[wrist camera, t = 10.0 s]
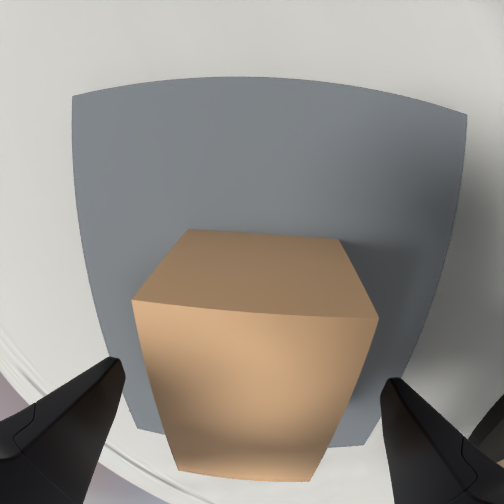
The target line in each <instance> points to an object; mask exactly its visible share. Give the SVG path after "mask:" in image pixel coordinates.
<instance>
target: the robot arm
mask: <svg viewBox="0 0 504 504" xmlns="http://www.w3.org/2000/svg"><path fill="white" fill-rule="evenodd" d="M125 380H126V375H125V371H124V368H123V365H122V362H121V360H120V359H119V358H115V357H107V358H105V359H104V360H102V361H101V362H99V363H98V364H96V365H94V366H93V367H91V368H90V369H88V370H86V371H85V372H83V373H82V374H80V375H78V376H77V377H75V378H74V379H72V380H70V381H69V382H67V383H66V384H64V385H62V386H61V387H59V388H58V389H56V390H54V391H53V392H51V393H50V394H48V395H46V396H45V397H43V398H41V399H40V400H38V401H37V402H36V403H33V404H32V405H30V406H28V407H27V408H25V409H23V410H21V411H20V412H18V413H16V414H14V415H12V416H10V417H9V418H6V419H4V420H2V421H0V504H83V502H84V499H85V496H86V493H87V490H88V487H89V484H90V482H91V479H92V476H93V473H94V470H95V467H96V465H97V462H98V460H99V457H100V454H101V452H102V449H103V446H104V444H105V441H106V439H107V436H108V433H109V431H110V428H111V426H112V423H113V421H114V418H115V416H116V412H117V409H118V405H119V402H120V398H121V394H122V391H123V387H124V384H125ZM380 406H381V416H382V428H383V437H384V443H385V448H386V453H387V459H388V464H389V470H390V476H391V482H392V489H393V495H394V503H395V504H504V468H503V467H502V466H500V465H499V464H498V463H496V462H495V461H494V460H492V459H491V458H489V457H488V456H487V455H486V454H484V453H483V452H482V451H480V450H479V449H478V448H477V447H476V446H475V445H473V444H472V443H471V442H470V441H469V440H468V439H467V438H466V437H465V436H463V435H462V434H461V433H460V432H459V431H458V430H457V429H456V428H455V427H454V426H453V425H451V424H450V423H449V422H448V421H447V420H446V419H445V418H444V417H443V416H442V415H441V414H439V413H438V412H437V411H436V410H435V409H434V408H433V407H432V406H431V405H430V404H429V403H427V402H426V401H425V400H424V399H423V398H422V397H421V396H420V395H419V394H418V393H416V392H415V391H414V390H413V389H412V388H411V387H410V386H409V385H408V384H407V383H406V382H404V381H403V380H402V379H401V378H399V377H393V378H388V379H387V381H386V383H385V385H384V387H383V390H382V392H381V394H380Z"/></svg>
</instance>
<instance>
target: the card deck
mask: <svg viewBox="0 0 504 504" xmlns="http://www.w3.org/2000/svg"><path fill="white" fill-rule="evenodd" d="M131 300H132V306H133V311H134V317H135V322H136V327H137V331H138V336H139V341H140V345H141V350H142V354H143V358H144V362H145V366H146V370H147V374H148V378H149V382H150V385H151V389H152V393H153V396H154V400H155V403H156V407H157V410H158V413H159V416H160V420H161V423H162V426H163V429H164V432H165V435H166V438H167V441H168V444H169V446H170V449H171V452H172V455H173V458H174V460H175V463H176V466H177V468H178V470H179V471H184V472H190V473H195V474H202V475H208V476H215V477H223V478H232V479H242V480H255V481H276V482H309V481H310V480H311V478H312V476H313V474H314V473H315V471H316V469H317V467H318V465H319V463H320V461H321V459H322V458H323V456H324V454H325V452H326V450H327V448H328V446H329V444H330V442H331V440H332V438H333V436H334V433H335V431H336V429H337V427H338V425H339V423H340V421H341V418H342V416H343V414H344V412H345V409H346V407H347V405H348V402H349V400H350V398H351V395H352V393H353V390H354V388H355V385H356V383H357V380H358V378H359V375H360V373H361V370H362V367H363V365H364V362H365V359H366V356H367V354H368V351H369V348H370V345H371V342H372V339H373V336H374V333H375V330H376V327H377V324H378V320H379V317H378V314H377V312H376V310H375V308H374V306H373V304H372V302H371V300H370V298H369V296H368V294H367V292H366V290H365V288H364V286H363V284H362V282H361V280H360V278H359V277H358V275H357V273H356V271H355V269H354V267H353V265H352V263H351V261H350V259H349V258H348V256H347V254H346V252H345V250H344V248H343V247H342V245H341V243H340V241H339V239H329V238H316V237H302V236H288V235H274V234H259V233H244V232H228V231H212V230H194V229H188V230H187V231H186V232H185V233H184V234H183V236H182V237H181V238H180V239H179V240H178V242H177V243H176V244H175V245H174V246H173V248H172V249H171V250H170V251H169V253H168V254H167V255H166V256H165V257H164V259H163V260H162V261H161V262H160V264H159V265H158V266H157V267H156V269H155V270H154V271H153V272H152V274H151V275H150V276H149V278H148V279H147V280H146V281H145V283H144V284H143V285H142V286H141V288H140V289H139V290H138V292H137V293H136V294H135V296H134V297H133V298H132V299H131Z"/></svg>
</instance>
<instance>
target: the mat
mask: <svg viewBox="0 0 504 504" xmlns="http://www.w3.org/2000/svg"><path fill="white" fill-rule="evenodd" d="M466 126H467V115H466V114H463V113H460V112H457V111H454V110H451V109H448V108H445V107H442V106H438V105H435V104H432V103H428V102H424V101H421V100H417V99H413V98H409V97H405V96H401V95H397V94H392V93H388V92H383V91H378V90H373V89H367V88H362V87H356V86H350V85H343V84H336V83H329V82H320V81H311V80H300V79H287V78H270V77H205V78H188V79H175V80H164V81H155V82H147V83H139V84H132V85H126V86H120V87H114V88H108V89H103V90H98V91H93V92H89V93H84V94H80V95H75V96H72V154H73V172H74V185H75V196H76V205H77V213H78V221H79V228H80V235H81V241H82V247H83V253H84V258H85V263H86V268H87V273H88V278H89V283H90V287H91V292H92V296H93V300H94V304H95V308H96V312H97V316H98V319H99V323H100V326H101V330H102V333H103V337H104V340H105V343H106V347H107V350H108V353H109V356H110V357H115V358H119V359H120V360H121V362H122V365H123V368H124V371H125V375H126V380H125V384H124V387H123V391H122V392H123V395H124V398H125V400H126V403H127V405H128V408H129V410H130V412H131V415H132V417H133V419H134V422H135V424H136V426H137V428H138V429H142V430H147V431H151V432H155V433H160V434H165V432H164V429H163V426H162V423H161V420H160V416H159V413H158V410H157V407H156V403H155V400H154V396H153V393H152V389H151V385H150V382H149V378H148V374H147V370H146V366H145V362H144V358H143V354H142V350H141V345H140V341H139V336H138V331H137V327H136V322H135V317H134V311H133V306H132V300H131V299H132V298H133V297H134V296H135V294H136V293H137V292H138V290H139V289H140V288H141V286H142V285H143V284H144V283H145V281H146V280H147V279H148V278H149V276H150V275H151V274H152V272H153V271H154V270H155V269H156V267H157V266H158V265H159V264H160V262H161V261H162V260H163V259H164V257H165V256H166V255H167V254H168V253H169V251H170V250H171V249H172V248H173V246H174V245H175V244H176V243H177V242H178V240H179V239H180V238H181V237H182V236H183V234H184V233H185V232H186V231H187V230H188V229H194V230H212V231H228V232H244V233H259V234H274V235H288V236H302V237H316V238H329V239H339V241H340V243H341V245H342V247H343V248H344V250H345V252H346V254H347V256H348V258H349V259H350V261H351V263H352V265H353V267H354V269H355V271H356V273H357V275H358V277H359V278H360V280H361V282H362V284H363V286H364V288H365V290H366V292H367V294H368V296H369V298H370V300H371V302H372V304H373V306H374V308H375V310H376V312H377V314H378V317H379V320H378V324H377V327H376V330H375V333H374V336H373V339H372V342H371V345H370V348H369V351H368V354H367V356H366V359H365V362H364V365H363V367H362V370H361V373H360V375H359V378H358V380H357V383H356V385H355V388H354V390H353V393H352V395H351V398H350V400H349V402H348V405H347V407H346V409H345V412H344V414H343V416H342V418H341V421H340V423H339V425H338V427H337V429H336V431H335V433H334V436H333V438H332V440H331V442H330V444H329V446H328V448H331V447H347V446H359V445H364V444H365V442H366V441H367V439H368V437H369V436H370V434H371V432H372V431H373V429H374V427H375V426H376V424H377V422H378V420H379V419H380V417H381V406H380V394H381V392H382V390H383V387H384V385H385V383H386V381H387V379H388V378H393V377H399V378H401V376H402V374H403V372H404V370H405V368H406V366H407V363H408V361H409V359H410V357H411V354H412V352H413V350H414V347H415V345H416V343H417V340H418V338H419V335H420V333H421V330H422V328H423V325H424V322H425V320H426V317H427V314H428V311H429V309H430V306H431V303H432V300H433V297H434V294H435V291H436V288H437V284H438V281H439V278H440V275H441V271H442V268H443V264H444V260H445V257H446V253H447V249H448V245H449V241H450V237H451V232H452V228H453V223H454V218H455V213H456V208H457V203H458V197H459V191H460V185H461V178H462V170H463V162H464V152H465V141H466Z"/></svg>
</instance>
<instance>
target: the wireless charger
mask: <svg viewBox="0 0 504 504" xmlns="http://www.w3.org/2000/svg"><path fill="white" fill-rule="evenodd" d="M468 440H469V441H470V442H471V443H472V444H473V445H475V446H476V447H477V448H478V449H479V450H480V451H482V452H483V453H484V454H486V455H487V456H488V457H489V458H491V459H492V460H494V461H495V462H496V463H497V462H499V461H501V460H503V459H504V394H503V396H502V397H501V398H500V399H499V400H498V401H497V402H496V403H495V405H494V406H493V407H492V408H491V409H490V410H489V411H488V413H487V414H486V415H485V416H484V418H483V419H482V420H481V421H480V423H479V424H478V425H477V426H476V428H475V429H474V431H473V432H472V434H471V435H470V437H469V439H468Z"/></svg>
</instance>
